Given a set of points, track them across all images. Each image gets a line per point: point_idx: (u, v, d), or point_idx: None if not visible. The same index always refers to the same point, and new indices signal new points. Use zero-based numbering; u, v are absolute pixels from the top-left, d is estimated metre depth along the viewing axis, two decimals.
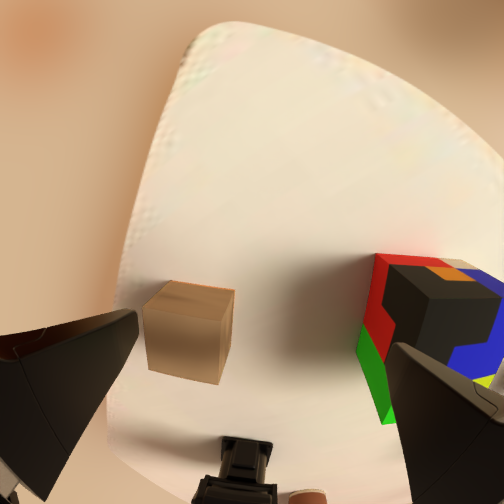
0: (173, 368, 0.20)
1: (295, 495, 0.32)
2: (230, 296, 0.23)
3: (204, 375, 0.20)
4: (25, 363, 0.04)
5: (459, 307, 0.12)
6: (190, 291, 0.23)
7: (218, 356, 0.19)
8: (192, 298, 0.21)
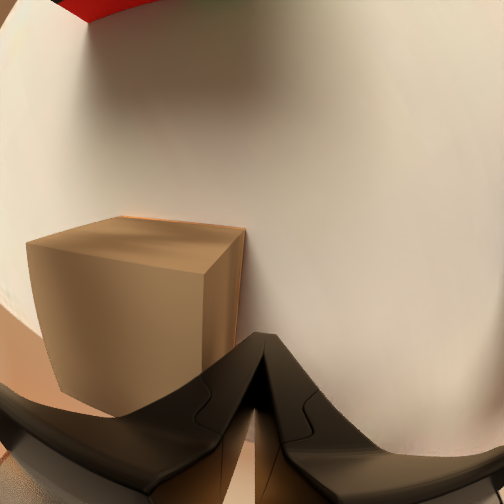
0: None
1: None
2: None
3: (169, 314, 0.06)
4: (217, 435, 0.04)
5: None
6: None
7: (93, 258, 0.06)
8: None
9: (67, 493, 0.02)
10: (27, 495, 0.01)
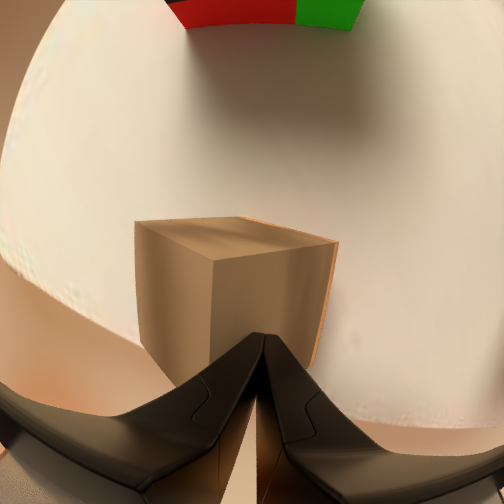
0: (194, 362, 0.08)
1: None
2: None
3: (195, 291, 0.08)
4: (215, 435, 0.04)
5: None
6: None
7: (163, 238, 0.09)
8: None
9: (64, 492, 0.02)
10: (25, 492, 0.01)
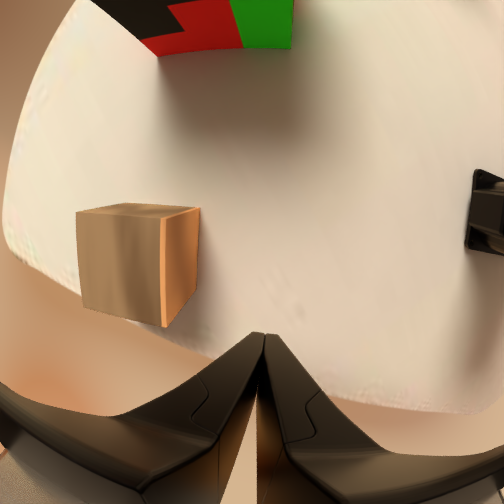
0: None
1: None
2: (177, 207, 0.19)
3: None
4: (214, 435, 0.04)
5: None
6: None
7: (103, 207, 0.16)
8: None
9: (65, 492, 0.02)
10: (24, 493, 0.01)
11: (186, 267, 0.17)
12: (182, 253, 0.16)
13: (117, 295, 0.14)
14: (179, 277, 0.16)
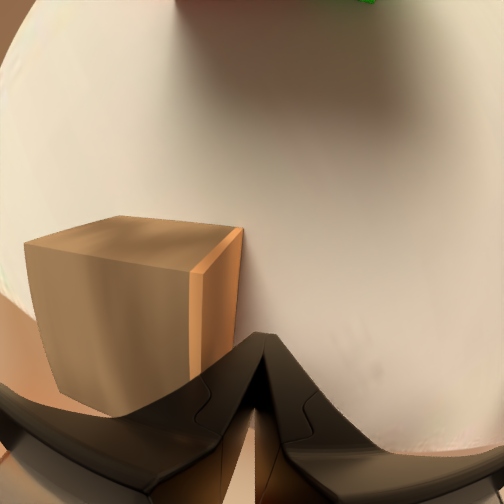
0: None
1: None
2: None
3: None
4: (216, 435, 0.04)
5: None
6: None
7: None
8: None
9: (67, 494, 0.02)
10: (26, 495, 0.01)
11: (225, 333, 0.10)
12: (222, 317, 0.09)
13: (110, 393, 0.07)
14: (218, 357, 0.09)
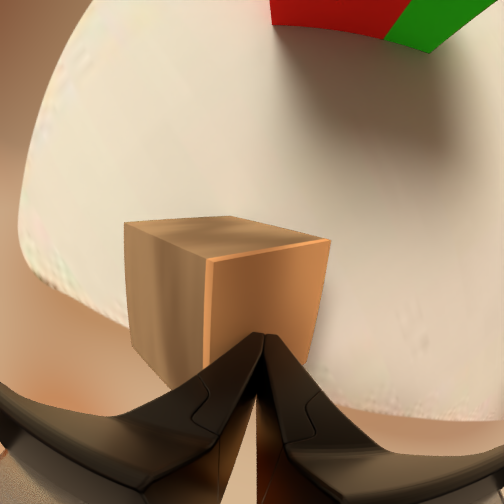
0: None
1: None
2: None
3: None
4: (214, 435, 0.04)
5: None
6: None
7: (182, 219, 0.13)
8: None
9: (64, 492, 0.02)
10: (24, 492, 0.01)
11: (282, 339, 0.10)
12: (272, 318, 0.09)
13: (158, 353, 0.10)
14: None
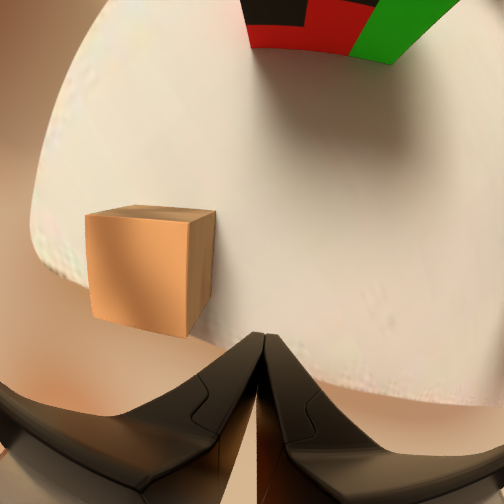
0: None
1: None
2: (197, 221, 0.14)
3: None
4: (214, 435, 0.04)
5: None
6: (195, 282, 0.15)
7: (172, 208, 0.18)
8: (202, 266, 0.16)
9: (64, 492, 0.02)
10: (25, 493, 0.01)
11: (140, 289, 0.13)
12: (125, 265, 0.13)
13: None
14: (119, 288, 0.13)
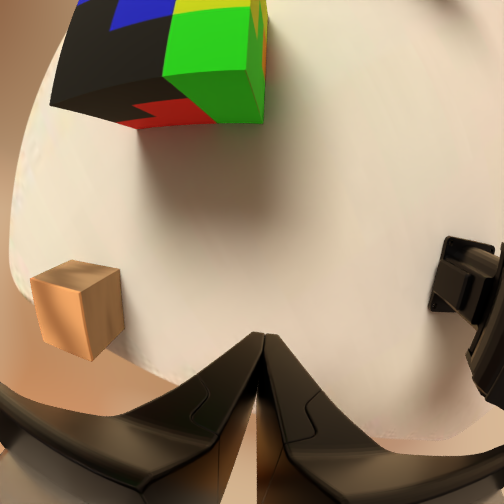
0: None
1: None
2: (91, 287, 0.18)
3: None
4: (214, 434, 0.04)
5: (65, 58, 0.09)
6: (98, 325, 0.19)
7: (93, 264, 0.22)
8: (105, 312, 0.20)
9: (64, 492, 0.02)
10: (24, 492, 0.01)
11: (63, 328, 0.17)
12: (54, 313, 0.17)
13: None
14: (53, 326, 0.18)
